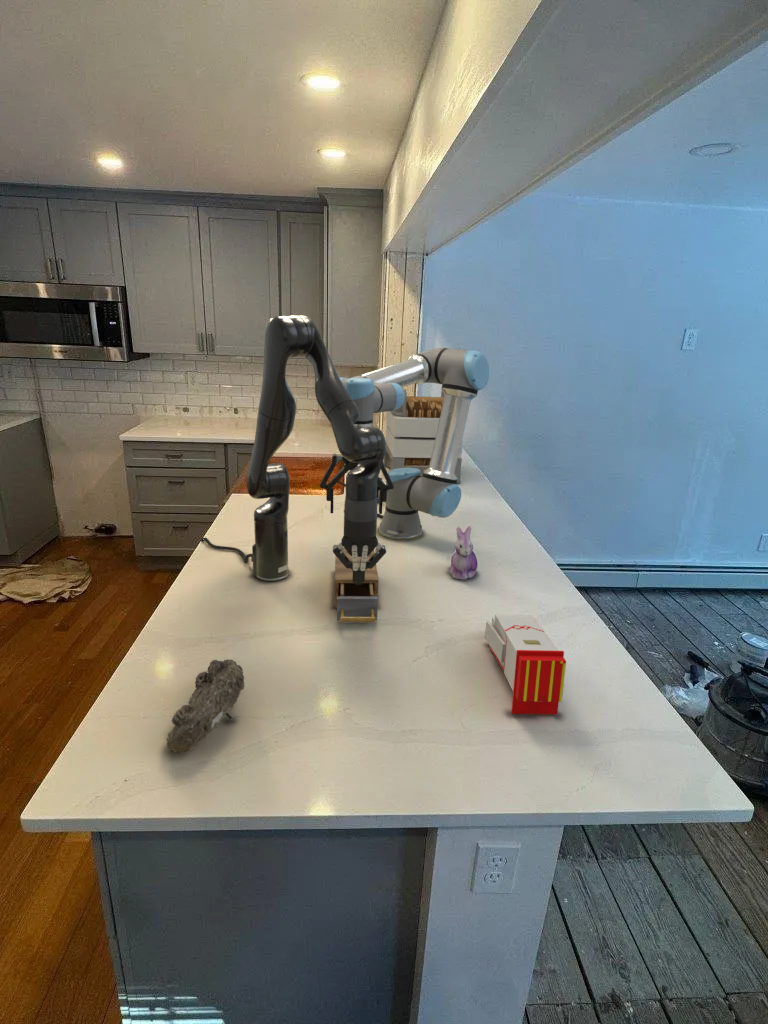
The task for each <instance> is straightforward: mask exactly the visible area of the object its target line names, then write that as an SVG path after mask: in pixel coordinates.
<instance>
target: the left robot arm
mask: <svg viewBox="0 0 768 1024" xmlns="http://www.w3.org/2000/svg"><path fill="white" fill-rule="evenodd" d="M263 351H264V352H263V372H262V373H263V374H262V385H261V390H260V391H261V392H260V398H259V403H258V409H257V416H256V427H255V434H254V442H253V448H252V450H251V455H250V459H249V463H248V468H247V473H246V490H247V493H248V495H249V496H250V497H251V498H252V499H255V500H262V499H263V500H264V499H268V498H269V499H268V500H267V501H265V502H264V503H263V504H261V505H260V506H258V507H257V508H256V509H255V510H254V512H253V526H254V527H253V528H254V544H253V545H252V546H251V549H252V553H248V554H245V553H244V552H243V551H242V550H241V549H240V548H237V547H233V546H224V545H216V544H214V543H212V542H211V541H210V540H209V538H208V537H206V536H205V538H204V536H203V537H202V538H201V539H200V542H206V544H207V545H208V546H209V547H211V548H212V549H216V550H217V549H218V550H226V551H233V552H237V553H239V554H240V555H241V557H242V559H243V561H244V562H246V563H247V562H249V561H250V560H249V559H251V562H252V574H253V577H256V578H257V579H259V580H261V581H265V582H277V581H281V580H284V579H286V578H287V577H288V576H289V538H288V537H289V535H288V534H289V532H288V531H289V530H288V526H289V525H288V514H289V510H290V509H289V507H290V475H289V471H288V468H287V467H286V465H285V464H283V463H281V462H273V463H270V461H271V459H272V458H273V456H274V455H275V453H276V452H277V451H278V450H279V449H280V448H281V447H282V445H283V444H284V443H285V442H286V441H287V440H288V439H289V437H290V436H291V433H292V431H293V429H294V425H295V420H296V414H297V403H296V399H295V396H294V394H293V393H292V391H291V388H290V386H289V384H288V382H287V378H286V371H287V363H288V360H289V358H299V357H305V358H306V359H307V361H308V362H309V364H310V365H311V366H312V368H313V371H314V394H315V398H316V401H317V403H318V405H319V407H320V409H321V410H322V412H323V414H324V415H325V418H326V419H327V420H328V421H329V423H330V426H331V428H332V433H333V436H334V439H335V443H336V446H337V448H338V452H339V453H340V454H341V456H343V457H344V458H345V459H347V460H348V461H350V462H358V465H357V466H356V467H355V468H354V469H352V470H351V471H350V470H349V471H348V472H347V473H346V476H345V484H346V486H345V499H344V505H343V536H342V538H341V540H340V541H341V542H340V543H338V544H334V545H333V546H332V553H333V554H334V555H336V556H337V558H338V559H339V560H340V561H341V562H342V564H343V565H344V566H345V567H346V568H347V569H348V568H350V569H352V570H353V582H355V585H358V583H359V585H362V582H364V581H365V570H366V569H368V568H369V569H372V568H373V567H374V566H375V565H376V566H377V564H378V562H379V561H381V559H382V558H383V557H384V556H385V555H386V554H387V548H386V546H385V545H382V544H381V543H379V539H378V538H377V529H378V527H377V525H378V516H377V513H378V502H377V479H378V476H379V477H380V472H381V466H382V463H384V456H385V451H386V441H385V438H386V436H385V435H384V432H383V431H382V430H381V429H380V428H379V427H377V426H373V427H365V428H359V429H356V428H355V426H354V425H353V424H354V423H355V422H356V421H357V420H358V418H359V416H360V411H359V409H358V407H357V405H356V404H355V402H354V400H353V399H352V397H351V396H350V394H349V393H348V391H347V390H346V388H345V387H344V385H343V383H342V382H341V380H340V378H339V377H340V376H339V374H338V372H337V371H336V370H337V369H336V368H335V365H334V363H333V361H332V357H331V356H330V353H329V350H328V349H327V347H326V345H325V342H324V340H323V338H322V335H321V333H320V331H319V329H318V327H317V325H316V324H315V322H314V321H313V320H312V319H311V318H310V316H308V315H305V314H290V315H288V314H287V315H277V316H273V317H271V318H270V319H269V321H268V322H267V324H266V328H265V335H264V347H263ZM203 539H204V540H203ZM343 548H345V549H346V551H347V552H348V553H349V555H351V556H352V560H353V562H352V561H350V560H349V559H348V558H347V556H346V555H345V554H344V553H343V552H344V549H343ZM373 550H374V552H375V553H374V555H373V556H372V557H371V558H370V559H369V560H368V561H367V556H369V555H370V554H371V552H372V551H373ZM358 557H361V559H360V567H358ZM366 561H367V562H366Z"/></svg>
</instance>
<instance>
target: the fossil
mask: <svg viewBox="0 0 768 1024" xmlns="http://www.w3.org/2000/svg"><path fill="white" fill-rule="evenodd" d="M243 670H244V669H243V667H242V665H240V664H237V662H236V661H235V660H234V659H232V658H231V659H227V658H226V659H224V660H223V661H222V660H217V659H212V660H211V661H210V663H209V665H208V666H207V671H201V672H199V673H198V674H197V675H196V676H195V680H194V684H195V685H194V687H195V689H194V690H193V693H192V694H191V697H190V698H189V700H188V704H184V705H182V706H181V707H180V709H177V710H176V711H175V713H174V715H173V716H172V718H171V723H172V724H173V727H172V730H171V731H170V732H168V734H167V738H166V741H167V742H166V745H167V749H168V750H169V751H173V752H174V753H176V754H178V753H182V752H188V751H189V752H192V751H193V750H195V748H196V747H197V746H199V744H200V743H201V742H203V741H204V740H205V739H206V738H207V737H208V736H209V735H210V734H211V733H212V732H214V730H215V729H217V727H218V726H219V724H220V722H221V721H222V720H223V719H224V718H225V716H226V717H227V719H229V720H233V717H232V715H230V714H229V710H230V709H231V708H234V706H235V704H236V703H237V702H238V699H239V697H240V695H241V693H242V691H243V690H245V689H244V688H245V675H244V671H243Z"/></svg>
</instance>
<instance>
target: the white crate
mask: <svg viewBox="0 0 768 1024" xmlns="http://www.w3.org/2000/svg"><path fill="white" fill-rule="evenodd" d="M402 389H403V391H404V394H405V398H404V403H403V405H402V406H401V407H400V408H399V409H396V410H393V411H387V412H386V413H385V414H386V415H385V423H386V428H385V441H386V451H385V456H384V459H383V464H384V466H385V467H388V468H389V471H391V470H394V469H398V468H405V466H406V467H407V466H411V467H412V466H413V467H415V466H416V467H417V466H418V467H429V465H430V460H431V456H432V451H433V447H434V442H435V438H436V433H437V429H438V424H439V419H440V415H441V410H442V406H443V401H444V397H445V394H444V393H443V391H442V390H441V392H440V393H441V394H440V396H415V395H414V396H413V395H412V396H411V395H407V394H408V393H407V390H406V389H404V387H402ZM463 442H464V441H463V440H462V442H461V446H460V451H459V455H458V459H457V464H456V468H455V475H456V477H457V479H458V480H457V484H459V483H461V472H462V461H463V460H462V453H463Z"/></svg>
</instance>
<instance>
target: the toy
mask: <svg viewBox="0 0 768 1024" xmlns="http://www.w3.org/2000/svg"><path fill="white" fill-rule="evenodd" d="M494 615H495V616H494V617H491V622H490V620H485V621H486V622H485V630H484V640H485V641H486V642H487V646H488V647H489V649H490V651H491V652H492V654H493V656H494V657H495V659H496V661H497V663H498V665H499V667H500V668H501V670H502V671H503V674H504V676H505V678H506V680H507V682H508V684H509V686H510V689H511V690H512V701H511V712H510V713H511V714H512V715H556V716H558V715H559V714H558V713H559V705H560V703H562V702H563V695H564V694H563V693H564V686H565V685H564V683H565V677H566V676H565V675H566V667H567V666H566V665H567V660H566V658H564V656H565V651H564V650H559V649H558V648H557V646H556V645H555V644H554V642H553V641H552V640H551V638H550V637H549V636H548V634H547V633H546V631H544V629H543V628H542V626H541V625H540V623H539V622H538V620H536V618H535V617H534V615H531V614H530V615H527V614H526V615H523V614H519V615H518V614H494Z"/></svg>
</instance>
